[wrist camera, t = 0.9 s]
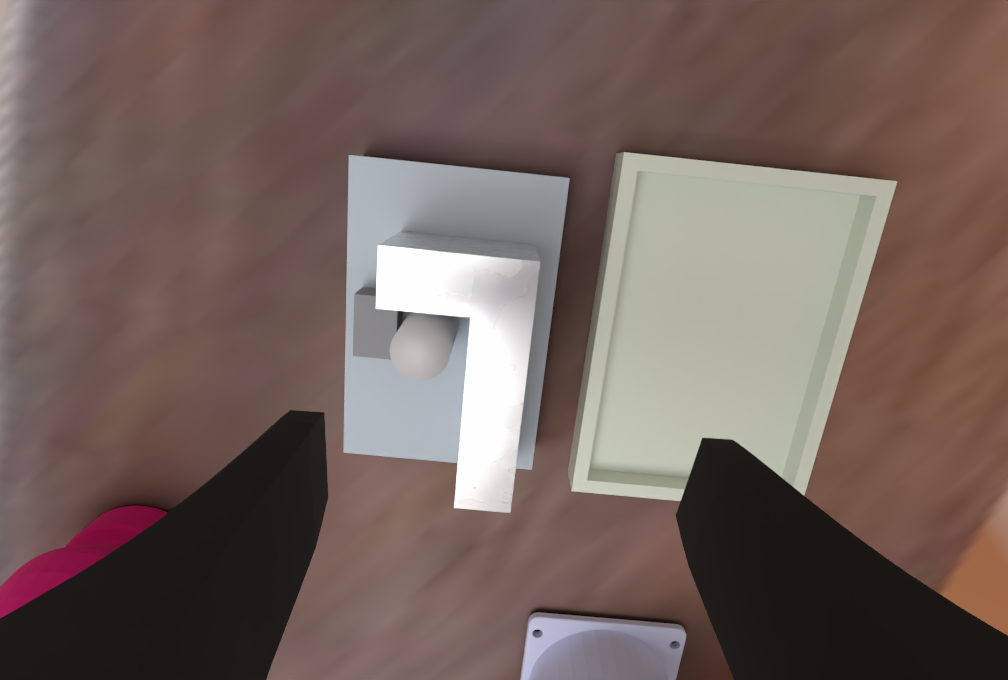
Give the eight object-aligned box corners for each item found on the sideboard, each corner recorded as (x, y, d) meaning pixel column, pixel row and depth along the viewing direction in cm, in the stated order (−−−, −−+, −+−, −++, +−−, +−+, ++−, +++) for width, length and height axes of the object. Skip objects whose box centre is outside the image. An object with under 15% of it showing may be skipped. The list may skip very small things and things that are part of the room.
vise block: (530, 447, 26) (535, 518, 21) (355, 431, 26) (316, 499, 20) (564, 177, 22) (581, 180, 17) (362, 155, 22) (317, 152, 17)
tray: (782, 491, 27) (799, 511, 25) (567, 472, 26) (571, 491, 25) (870, 180, 22) (897, 181, 21) (616, 153, 22) (624, 152, 21)
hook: (509, 457, 24) (510, 512, 20) (391, 446, 24) (369, 500, 20) (534, 244, 21) (540, 261, 17) (401, 230, 21) (377, 245, 17)
